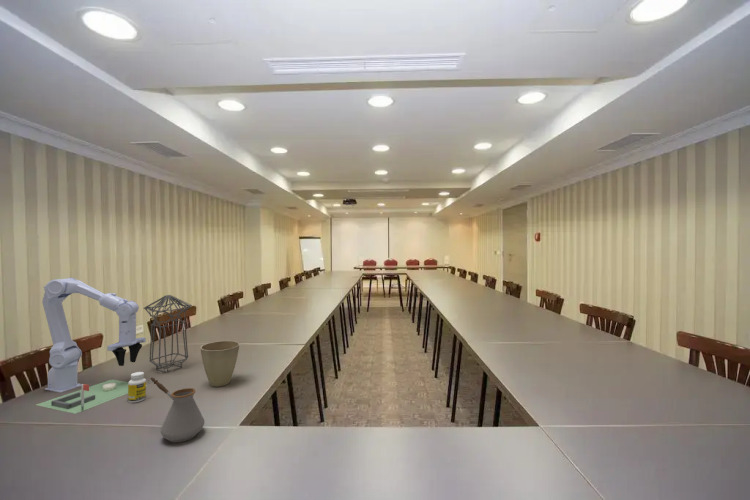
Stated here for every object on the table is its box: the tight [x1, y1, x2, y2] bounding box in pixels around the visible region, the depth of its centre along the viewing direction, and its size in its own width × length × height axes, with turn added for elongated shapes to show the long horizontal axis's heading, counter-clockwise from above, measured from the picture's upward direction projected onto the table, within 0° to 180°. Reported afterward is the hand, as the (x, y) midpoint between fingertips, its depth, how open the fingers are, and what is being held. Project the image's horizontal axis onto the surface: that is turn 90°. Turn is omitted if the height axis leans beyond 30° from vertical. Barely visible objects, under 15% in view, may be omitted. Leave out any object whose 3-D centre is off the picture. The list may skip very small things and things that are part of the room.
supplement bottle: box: [127, 371, 147, 404], centre depth 127 cm, size 5×5×10 cm
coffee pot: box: [147, 377, 205, 443], centre depth 105 cm, size 21×12×15 cm, turn 65°
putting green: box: [35, 379, 148, 415], centre depth 131 cm, size 21×26×1 cm
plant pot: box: [200, 340, 240, 387], centre depth 143 cm, size 15×15×16 cm
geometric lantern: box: [143, 294, 193, 373], centre depth 161 cm, size 16×16×35 cm
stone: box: [103, 383, 116, 392], centre depth 136 cm, size 4×4×2 cm
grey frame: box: [51, 383, 95, 412], centre depth 123 cm, size 18×8×9 cm, turn 72°
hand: (127, 363), depth 142 cm, fingers open, 4 cm apart
